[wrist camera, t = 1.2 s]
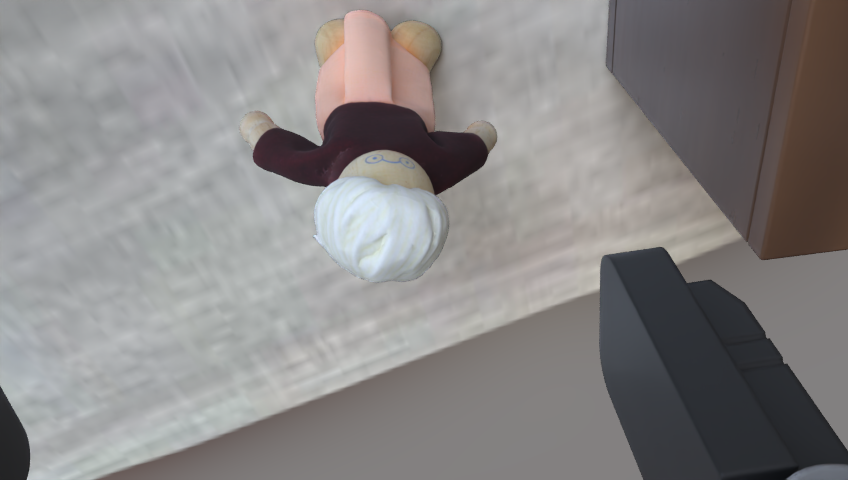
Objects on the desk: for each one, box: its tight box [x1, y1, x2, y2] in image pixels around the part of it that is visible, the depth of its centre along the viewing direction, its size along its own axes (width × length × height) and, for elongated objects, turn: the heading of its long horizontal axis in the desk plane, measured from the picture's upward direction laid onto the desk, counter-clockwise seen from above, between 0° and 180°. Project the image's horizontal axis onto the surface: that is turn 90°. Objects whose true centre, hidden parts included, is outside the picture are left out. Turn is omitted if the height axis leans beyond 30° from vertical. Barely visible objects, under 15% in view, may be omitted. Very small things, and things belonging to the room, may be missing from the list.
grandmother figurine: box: [239, 10, 497, 283], centre depth 24 cm, size 8×4×13 cm, turn 95°
